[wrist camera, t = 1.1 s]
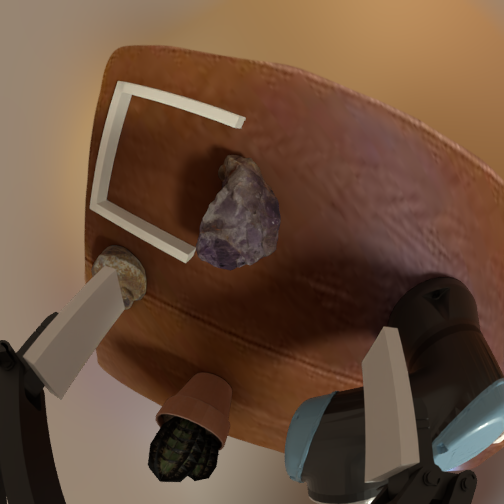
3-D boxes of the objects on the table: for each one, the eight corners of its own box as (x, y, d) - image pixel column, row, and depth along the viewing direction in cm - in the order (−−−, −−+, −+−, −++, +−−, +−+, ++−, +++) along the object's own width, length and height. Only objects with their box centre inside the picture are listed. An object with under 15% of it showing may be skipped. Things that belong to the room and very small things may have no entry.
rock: (207, 224, 39) (274, 256, 38) (173, 257, 32) (253, 297, 31) (228, 145, 32) (308, 178, 31) (191, 162, 25) (294, 205, 24)
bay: (245, 117, 30) (239, 116, 28) (193, 256, 40) (185, 263, 38) (128, 82, 31) (118, 80, 29) (99, 204, 41) (89, 208, 39)
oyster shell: (91, 269, 49) (72, 283, 43) (121, 228, 42) (99, 241, 37) (125, 311, 50) (109, 328, 45) (163, 279, 44) (144, 297, 39)
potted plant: (183, 390, 56) (134, 475, 34) (182, 354, 50) (118, 454, 28) (238, 411, 54) (201, 504, 32) (248, 377, 48) (203, 493, 26)
